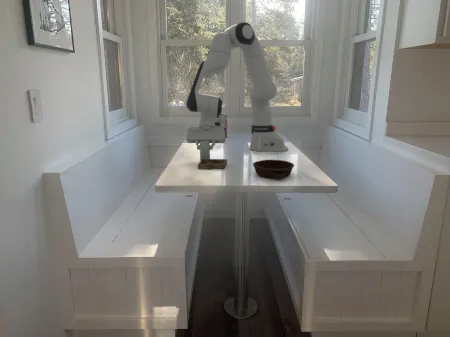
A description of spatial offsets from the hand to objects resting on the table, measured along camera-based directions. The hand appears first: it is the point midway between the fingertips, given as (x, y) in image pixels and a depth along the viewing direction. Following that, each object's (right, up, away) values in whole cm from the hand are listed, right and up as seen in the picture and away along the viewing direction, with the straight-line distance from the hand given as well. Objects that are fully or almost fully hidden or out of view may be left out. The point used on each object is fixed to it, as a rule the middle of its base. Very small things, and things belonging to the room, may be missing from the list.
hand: (204, 149), depth 180 cm
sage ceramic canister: (0, -6, +2) cm, 6 cm away
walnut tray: (+5, -9, -11) cm, 15 cm away
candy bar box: (+6, +13, +77) cm, 78 cm away
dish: (+31, -13, -27) cm, 43 cm away
